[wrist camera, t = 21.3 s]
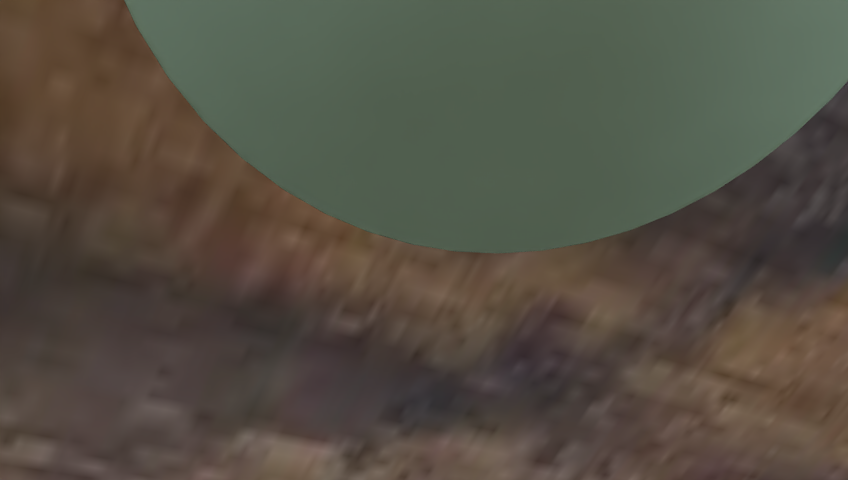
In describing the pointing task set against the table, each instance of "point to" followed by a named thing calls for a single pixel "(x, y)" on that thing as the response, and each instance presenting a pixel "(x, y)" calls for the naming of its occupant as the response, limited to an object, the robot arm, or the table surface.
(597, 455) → the table surface
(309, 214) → the table surface
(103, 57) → the table surface
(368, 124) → the lid
